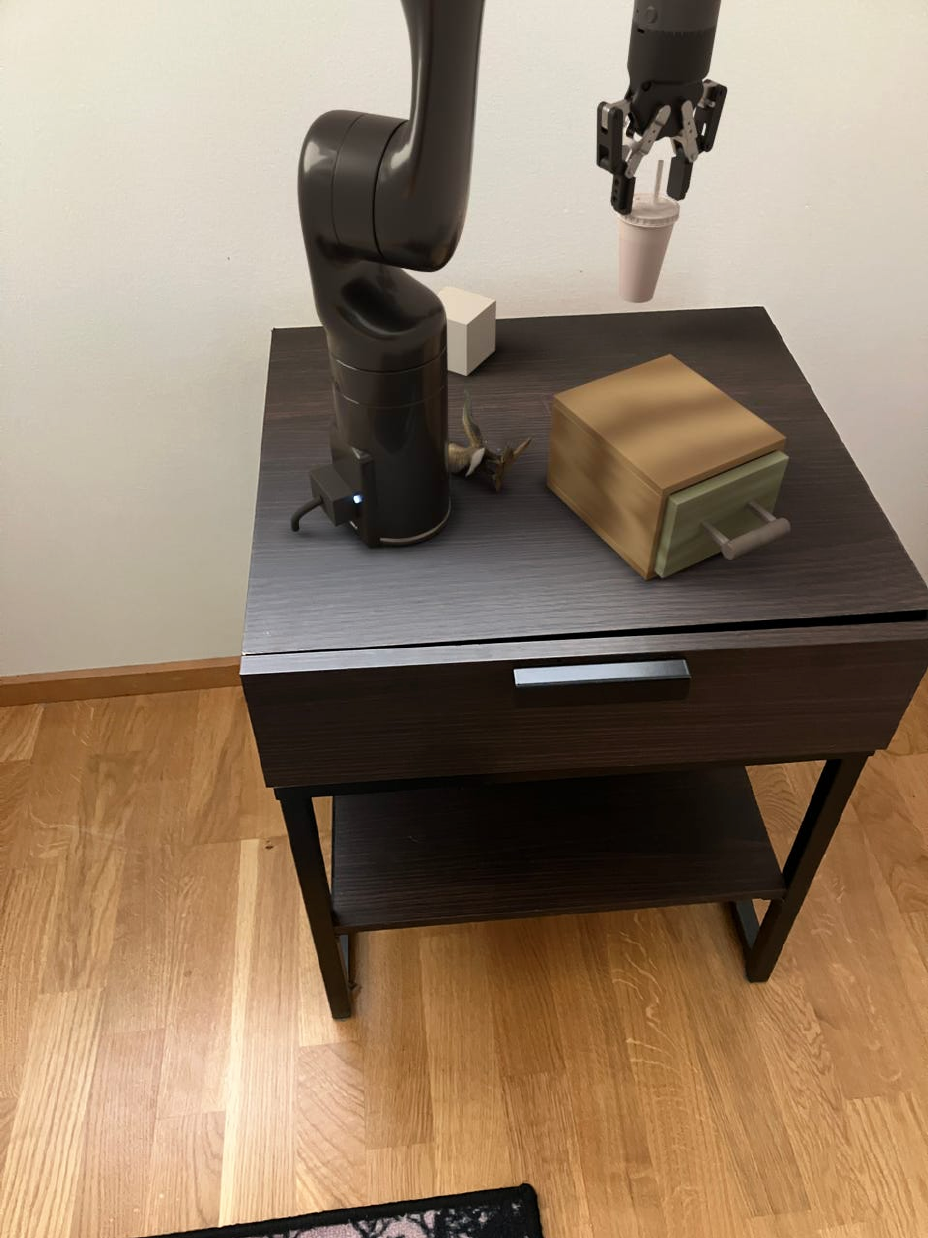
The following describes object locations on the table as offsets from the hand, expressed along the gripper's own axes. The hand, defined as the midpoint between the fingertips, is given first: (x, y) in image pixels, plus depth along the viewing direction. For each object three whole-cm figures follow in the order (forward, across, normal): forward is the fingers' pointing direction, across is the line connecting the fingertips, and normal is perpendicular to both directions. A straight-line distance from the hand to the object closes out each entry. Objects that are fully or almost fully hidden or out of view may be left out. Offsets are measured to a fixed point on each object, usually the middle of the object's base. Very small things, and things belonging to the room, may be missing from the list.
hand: (648, 204), depth 97 cm
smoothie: (+10, 0, 0) cm, 10 cm away
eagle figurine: (+15, +28, +12) cm, 34 cm away
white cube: (+15, +19, -6) cm, 25 cm away
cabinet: (+15, +17, +25) cm, 33 cm away
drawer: (+14, +17, +29) cm, 36 cm away
